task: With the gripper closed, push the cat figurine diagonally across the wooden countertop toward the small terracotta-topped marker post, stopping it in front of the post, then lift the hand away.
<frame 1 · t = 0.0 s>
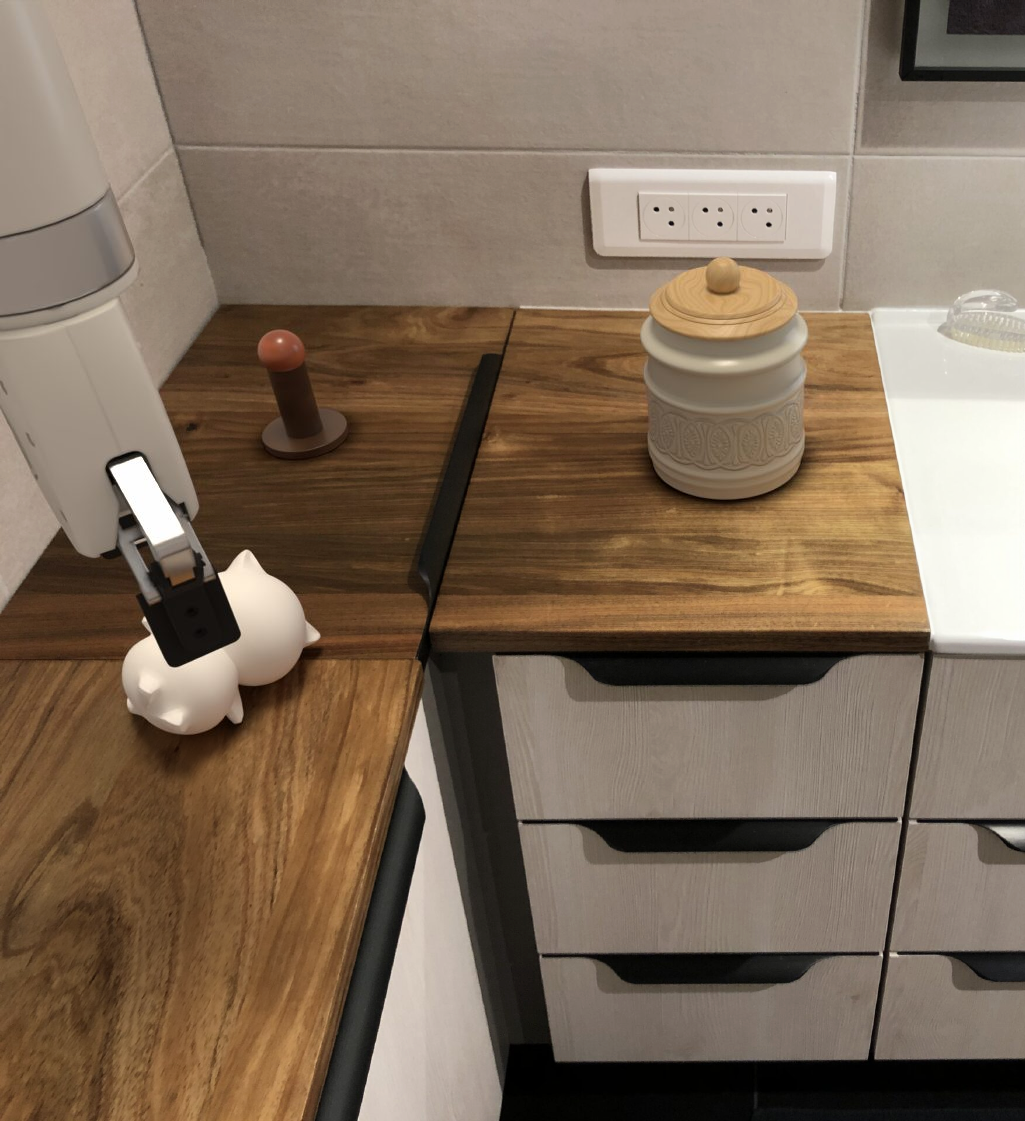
hand: (169, 595, 53), 18 cm above the worktop, tool pointing down, fingers open, 9 cm apart
marker post: (306, 437, 97), on the worktop
cat figurine: (226, 691, 74), on the worktop
jar: (726, 460, 94), on the worktop
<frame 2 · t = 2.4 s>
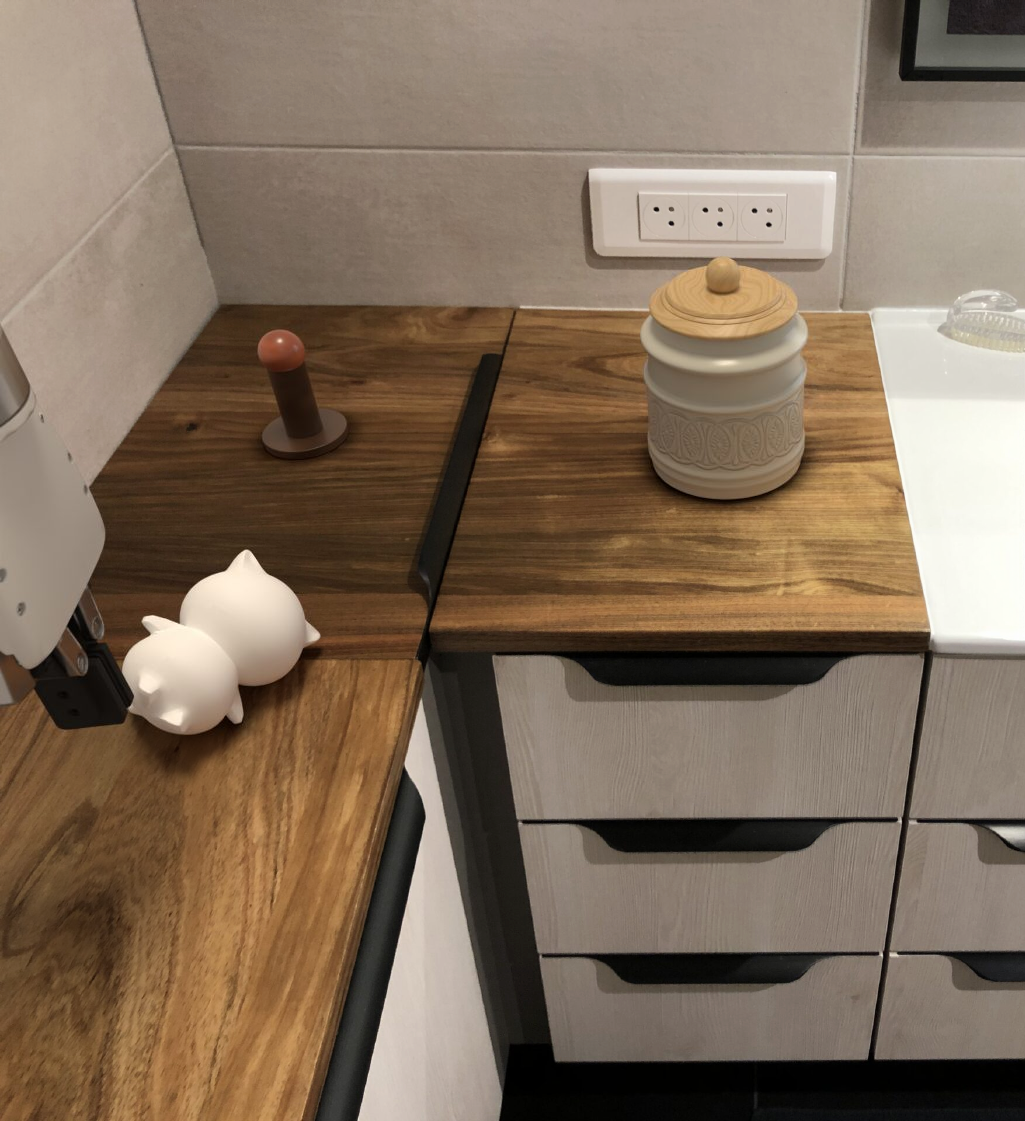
hand: (98, 714, 55), 12 cm above the worktop, tool pointing down, fingers closed
nothing on the worktop moved.
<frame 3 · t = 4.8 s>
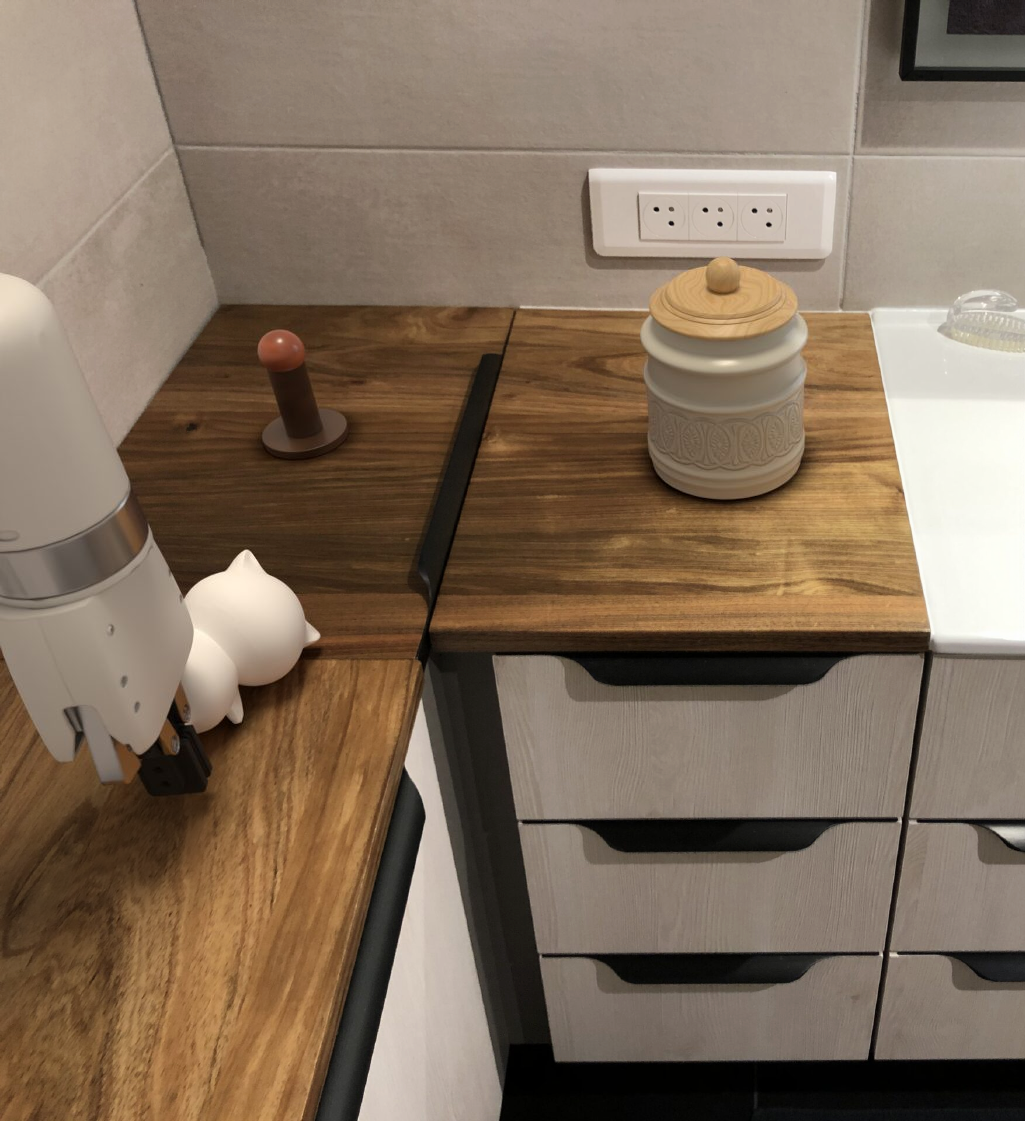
hand: (182, 783, 65), 2 cm above the worktop, tool pointing down, fingers closed
cat figurine: (226, 691, 74), on the worktop, touching gripper
everything else where it was.
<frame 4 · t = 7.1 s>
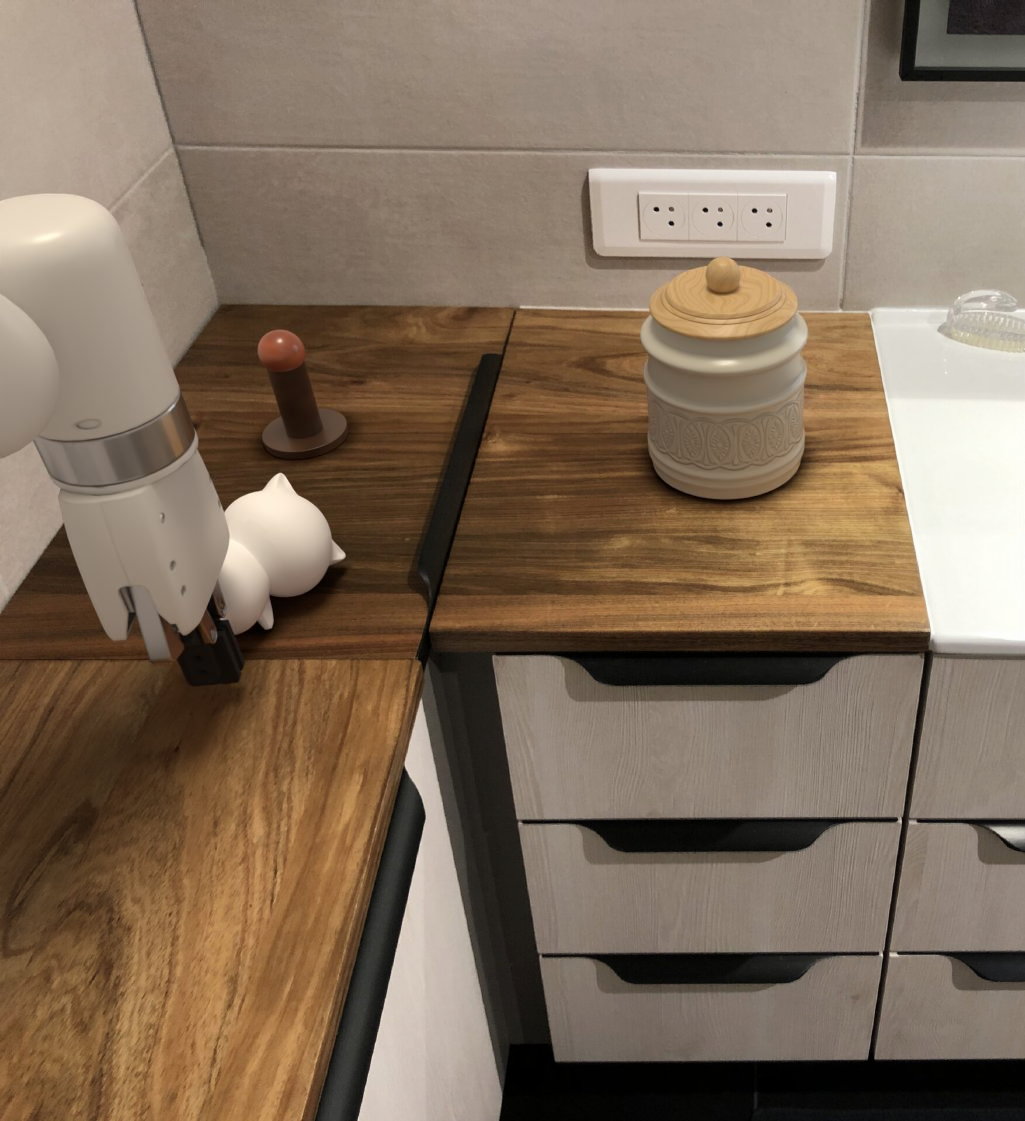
hand: (217, 675, 72), 2 cm above the worktop, tool pointing down, fingers closed
cat figurine: (259, 602, 81), on the worktop, touching gripper
everything else where it was.
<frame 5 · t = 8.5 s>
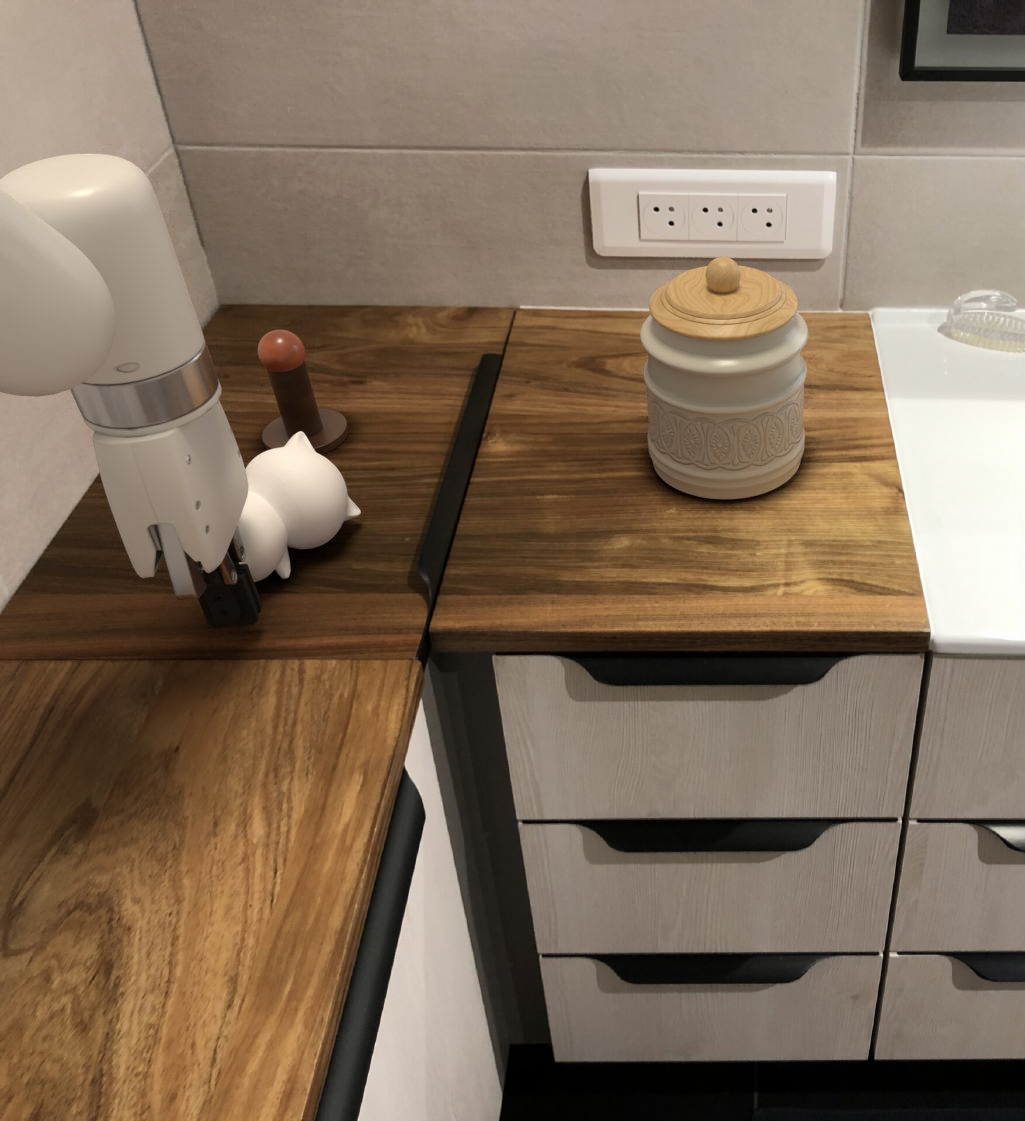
hand: (236, 617, 77), 2 cm above the worktop, tool pointing down, fingers closed
cat figurine: (278, 554, 85), on the worktop, touching gripper
everything else where it was.
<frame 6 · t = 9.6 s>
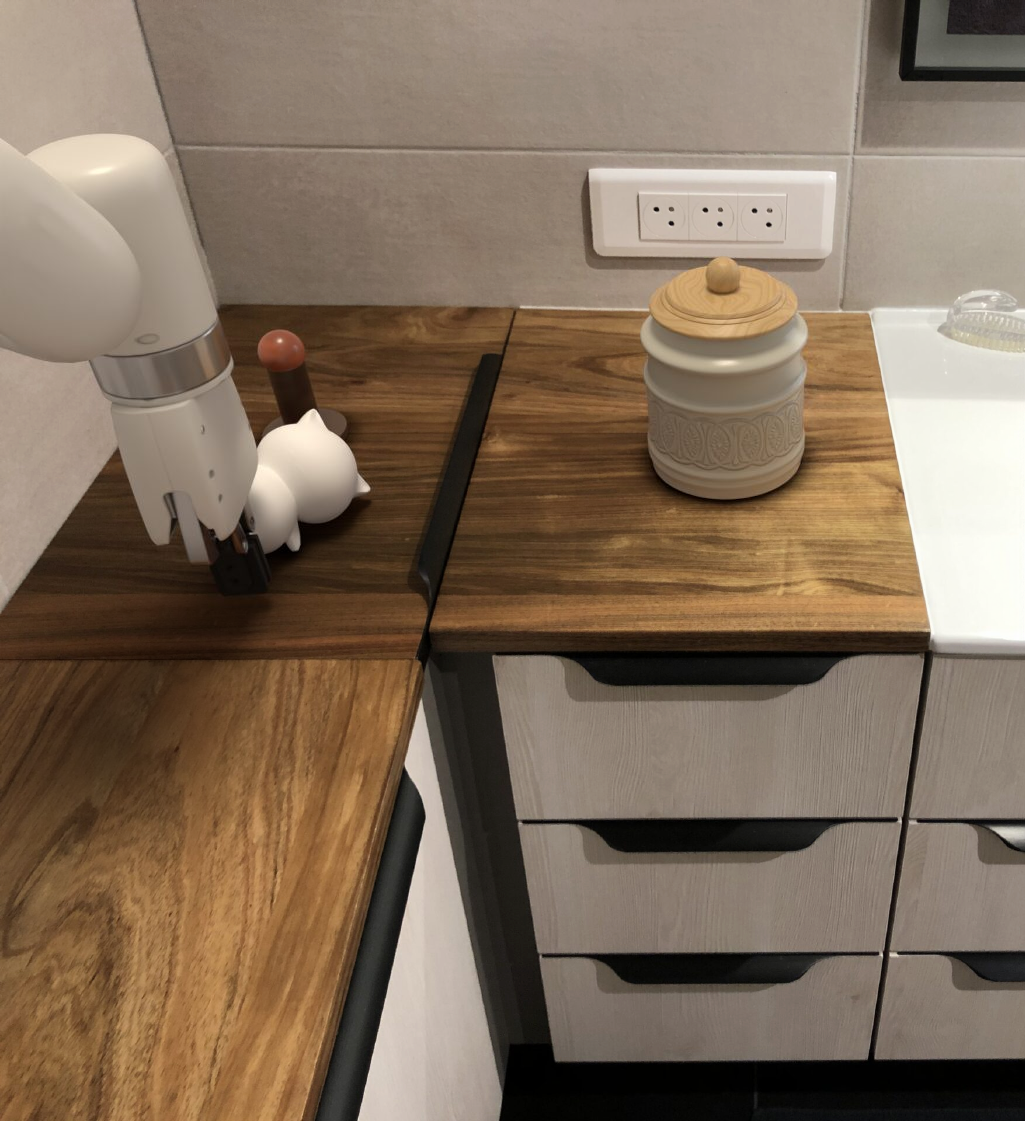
hand: (247, 587, 79), 2 cm above the worktop, tool pointing down, fingers closed
cat figurine: (289, 528, 87), on the worktop, touching gripper
everything else where it was.
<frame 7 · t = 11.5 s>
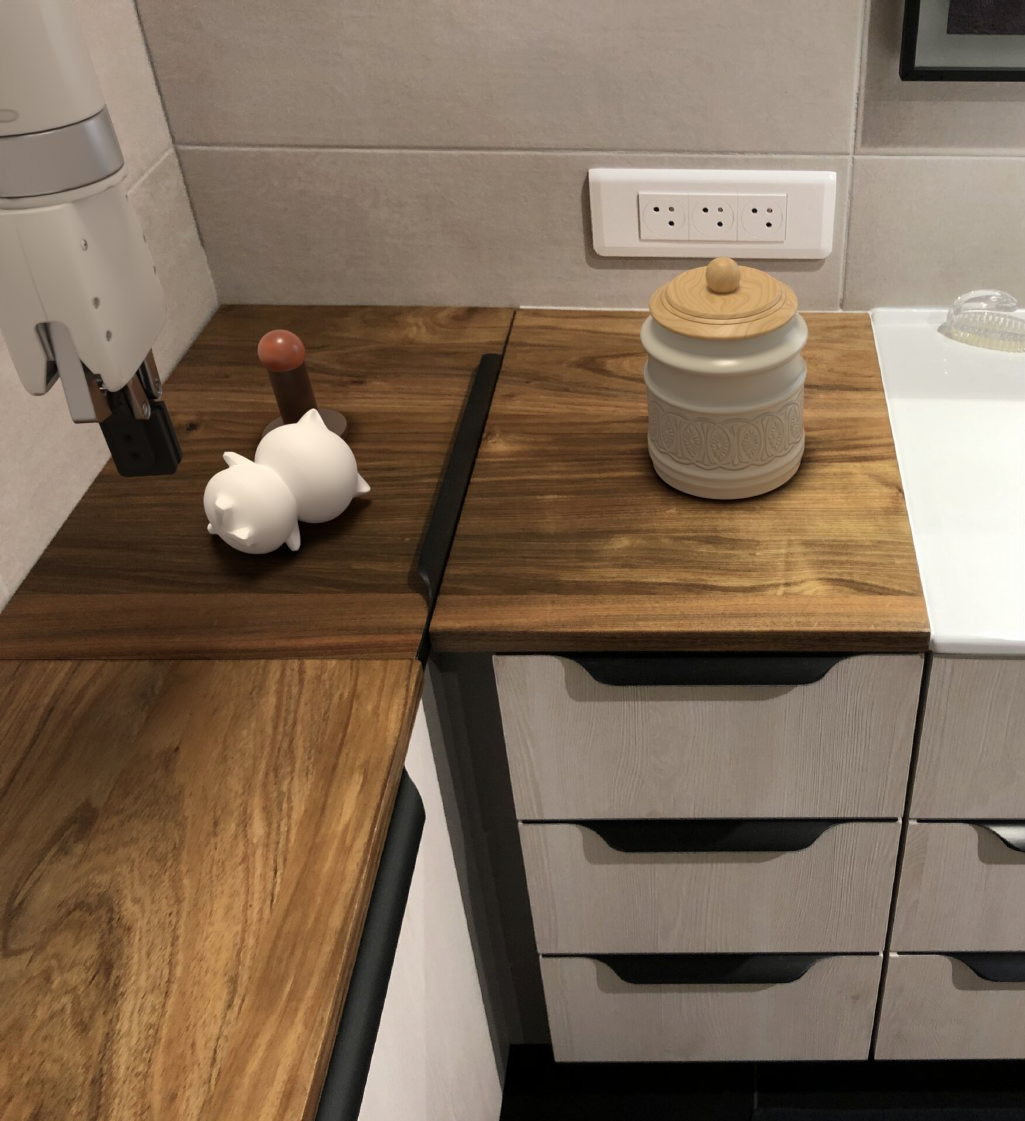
hand: (152, 468, 66), 15 cm above the worktop, tool pointing down, fingers closed
cat figurine: (289, 527, 88), on the worktop
everything else where it was.
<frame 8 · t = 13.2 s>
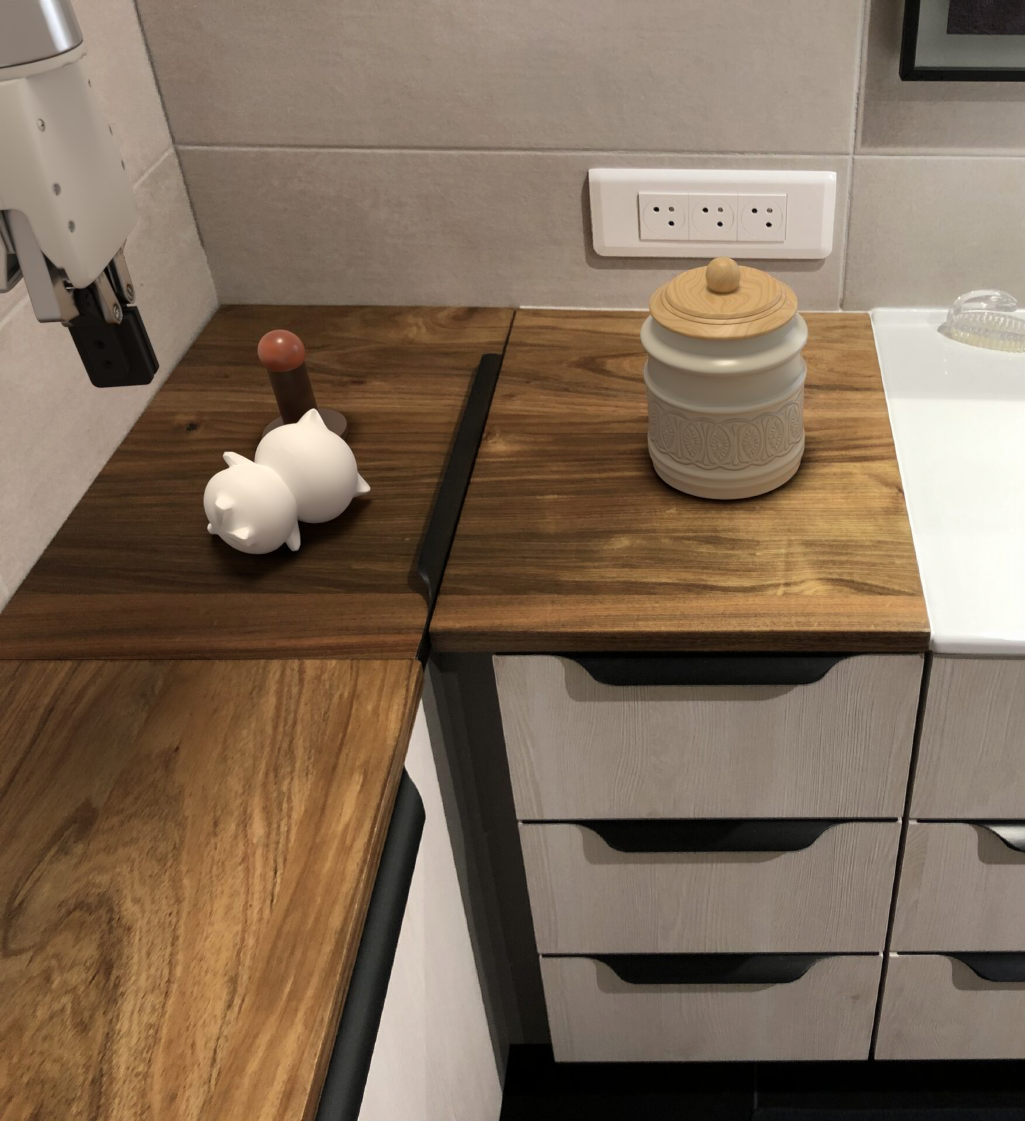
hand: (127, 378, 63), 21 cm above the worktop, tool pointing down, fingers closed
nothing on the worktop moved.
at the end: cat figurine inside the target area on the worktop beside the marker post (1.0 cm from its centre), on the worktop; cat figurine moved 17.7 cm from its start; cat figurine tilted 0° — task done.
